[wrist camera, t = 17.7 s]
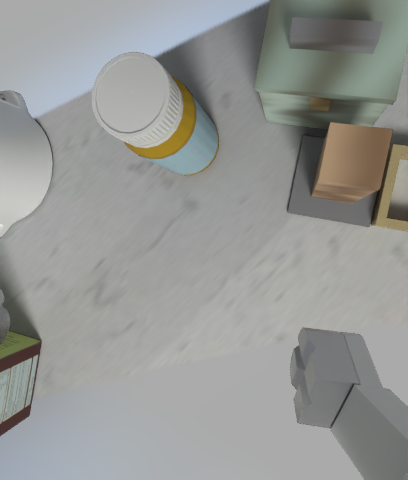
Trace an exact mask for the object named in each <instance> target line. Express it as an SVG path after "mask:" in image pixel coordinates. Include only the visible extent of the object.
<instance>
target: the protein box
mask: <svg viewBox="0 0 408 480" xmlns="http://www.w3.org/2000/svg"><path fill="white" fill-rule="evenodd" d="M40 348H41V341H40V340H36V339H33V338H30V337H27V336H24V335H20V334H17V333H14V332H11V331H8V333H7V336H6V338H5V339H4V341H3V342H2V344H1V345H0V436H1V435H3V434H4V433H5V432H7V431H8V430H10V429H11V428H12V427H14V426H15V425H17V424H18V423H20V422H21V421H23V420H24V419H25V418H27V417H29V415H30V410H31V403H32V397H33V391H34V385H35V379H36V372H37V367H38V360H39V354H40Z"/></svg>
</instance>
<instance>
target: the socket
mask: <svg viewBox="0 0 408 480" xmlns="http://www.w3.org/2000/svg"><path fill="white" fill-rule="evenodd" d="M400 159H404V160H408V146H405V145H396V144H393V145H392V146H391V147H390V148H389V150H388V155H387V159H386V164H385V168H384V173H383V178H382V182H381V187H380V189H379V193H378V197H377V202H376V206H375V211H374V215H373V220H372V224H371V225H372V226H378V227H384V228H389V229H395V230H401V231H407V232H408V222H407V221H401V220H395V219H389V218H387V214H388V210H389V205H390V201H391V196H392V192H393V187H394V183H395V178H396V174H397V169H398V165H399V160H400Z"/></svg>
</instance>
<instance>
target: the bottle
mask: <svg viewBox="0 0 408 480" xmlns="http://www.w3.org/2000/svg"><path fill="white" fill-rule="evenodd" d="M92 106H93V111H94V114H95V116H96V118H97V120H98V122H99V123H100V125H101V126H102V127H103V129H105V130H106V131H107V132H108V133H109V134H111V135H113V136H114V137H116V138H118V139H120V140H122V141H123V142H124V143H125V144H126V146H127V147H128V148H129V149H131V150H132V151H133V152H135V153H136V154H138V155H140V156H142V157H144V158H146V159H148V160H150V161H152V162H154V163H156V164H158V165H160V166H162V167H164V168H166V169H168V170H170V171H172V172H174V173H177V174H180V175H195V174H197V173H200V172H202V171H203V170H205V169H206V168H207V167H208V166H210V164H211V163H212V162H213V160H214V159H215V157H216V154H217V151H218V148H219V136H218V133H217V129H216V127H215V125H214V124H213V122H212V121H211V120H210V118H209V117H208V116H207V114H206V113H205V112H204V110H203V109H202V108H201V106H200V105H199V104H198V102H197V101H196V100H195V98H194V97H193V96H192V94H191V93H190V92H189V90H188V89H187V88H186V86H184V84H183V83H182V82H180V81H179V80H177V79H176V78H174V77H172V76H170V74H169V73H168V72H167V71H166V69H165V68H164V67H163V66H162V64H161V63H159V62H158V60H155V59H154V58H153V57H151V56H149V55H147V54H144V53H139V52H129V53H124V54H122V55H119V56H117V57H115V58H113V59H112V60H111V61H109V62H108V63H107V64H106V65H105V66H104V67H103V68H102V70H101V71H100V73H99V74H98V76H97V78H96V81H95V83H94V87H93V91H92Z"/></svg>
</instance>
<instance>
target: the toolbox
mask: <svg viewBox="0 0 408 480" xmlns="http://www.w3.org/2000/svg"><path fill="white" fill-rule="evenodd" d="M407 48H408V0H271V1H270V6H269V11H268V16H267V21H266V27H265V32H264V37H263V42H262V47H261V52H260V58H259V63H258V68H257V73H256V78H255V84H254V88H255V91H257V92H259V94H260V98H261V102H262V106H263V109H264V113H265V117H266V121H267V122H270V123H278V124H287V125H295V126H304V127H312V128H320V129H328V128H329V125H330V122H332V123H341V124H350V125H359V126H368V127H372V126H373V125H374V123H375V122H376V121H377V119H378V118H379V117H380V115H381V114H382V112H383V111H384V110H385V108H386V107H387V105H388V104H390V105H393V103H394V102H395V101H396V98H397V94H398V89H399V84H400V80H401V75H402V71H403V66H404V62H405V57H406V53H407Z"/></svg>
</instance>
